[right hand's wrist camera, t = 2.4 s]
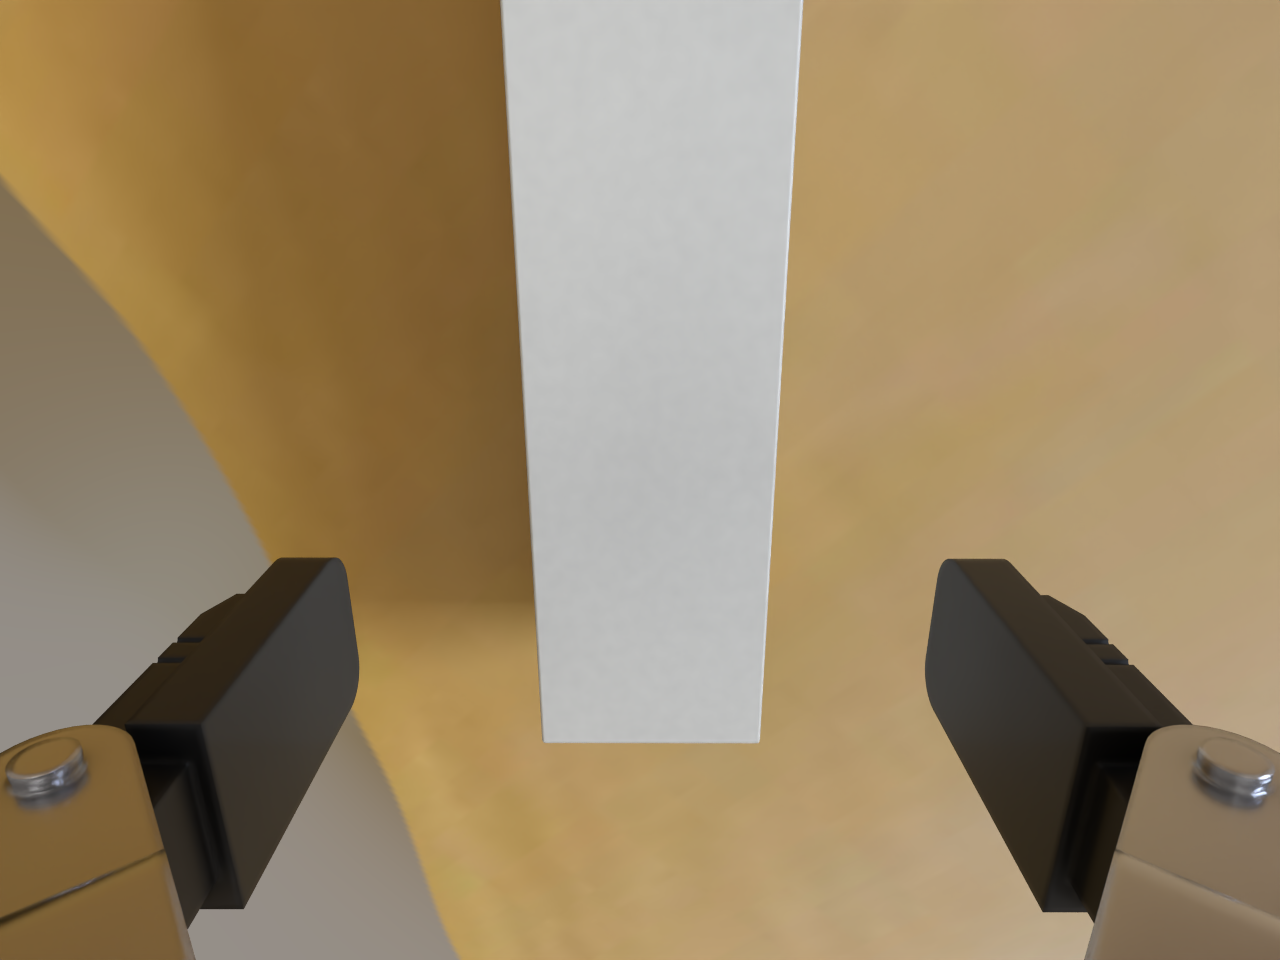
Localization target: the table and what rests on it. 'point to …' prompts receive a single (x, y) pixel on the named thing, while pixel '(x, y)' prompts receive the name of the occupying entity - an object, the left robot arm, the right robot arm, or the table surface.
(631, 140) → the bar
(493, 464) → the table surface
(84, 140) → the table surface
